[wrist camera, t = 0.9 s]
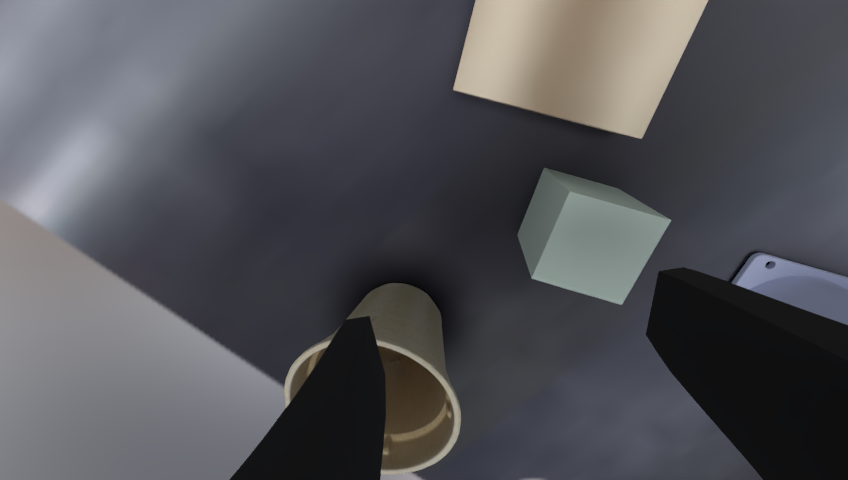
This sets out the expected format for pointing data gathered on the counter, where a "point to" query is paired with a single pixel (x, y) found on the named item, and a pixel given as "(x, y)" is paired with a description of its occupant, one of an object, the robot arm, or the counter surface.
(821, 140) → the counter surface
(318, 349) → the flower pot
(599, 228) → the sage block
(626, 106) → the beech base
